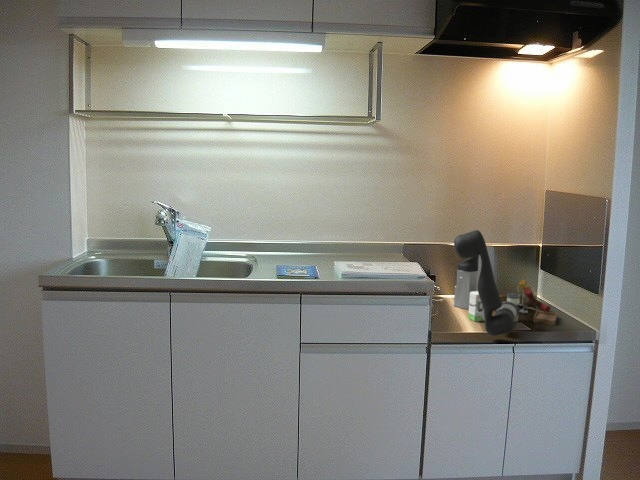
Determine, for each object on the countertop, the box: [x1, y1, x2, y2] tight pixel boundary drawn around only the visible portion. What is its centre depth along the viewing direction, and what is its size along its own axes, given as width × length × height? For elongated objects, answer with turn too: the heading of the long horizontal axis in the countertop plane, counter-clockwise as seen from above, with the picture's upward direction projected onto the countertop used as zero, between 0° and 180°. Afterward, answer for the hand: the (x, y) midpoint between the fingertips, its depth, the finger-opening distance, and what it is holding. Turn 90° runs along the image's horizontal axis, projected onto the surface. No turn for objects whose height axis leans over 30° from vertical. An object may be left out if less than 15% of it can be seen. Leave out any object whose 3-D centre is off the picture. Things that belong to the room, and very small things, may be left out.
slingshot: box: [516, 279, 551, 312], centre depth 246 cm, size 17×10×15 cm
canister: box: [506, 292, 521, 323], centre depth 227 cm, size 5×5×11 cm
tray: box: [532, 309, 559, 326], centre depth 228 cm, size 8×12×2 cm
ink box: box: [468, 290, 485, 322], centre depth 227 cm, size 9×5×12 cm, turn 108°
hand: (513, 303), depth 229 cm, fingers closed on canister, 5 cm apart
